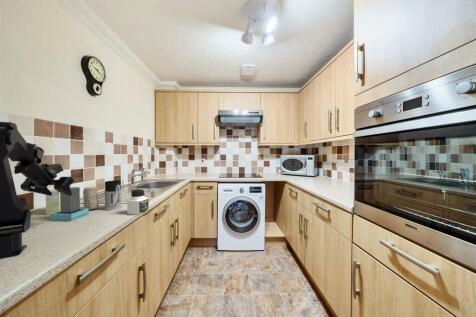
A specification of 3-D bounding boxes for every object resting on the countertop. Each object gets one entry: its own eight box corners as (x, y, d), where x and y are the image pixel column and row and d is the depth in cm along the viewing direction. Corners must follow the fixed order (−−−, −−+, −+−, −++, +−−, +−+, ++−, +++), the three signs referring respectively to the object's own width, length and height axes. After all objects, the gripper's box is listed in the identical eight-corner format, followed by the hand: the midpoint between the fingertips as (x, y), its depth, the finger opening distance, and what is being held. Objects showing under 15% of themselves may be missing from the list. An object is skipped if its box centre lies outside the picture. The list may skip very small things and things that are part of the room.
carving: (92, 207, 112) (91, 186, 112) (101, 208, 110) (101, 186, 110) (80, 210, 106) (79, 188, 106) (89, 211, 104) (89, 188, 104)
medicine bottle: (139, 215, 98) (139, 190, 98) (127, 214, 100) (126, 190, 100) (148, 211, 105) (148, 188, 105) (137, 210, 107) (136, 188, 107)
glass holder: (119, 205, 117) (118, 179, 117) (128, 209, 108) (128, 182, 107) (101, 208, 110) (101, 181, 110) (110, 213, 101) (109, 183, 101)
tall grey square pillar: (70, 217, 92) (70, 189, 91) (60, 217, 92) (60, 188, 92) (80, 214, 97) (79, 187, 96) (70, 213, 97) (69, 187, 97)
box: (57, 209, 108) (56, 187, 108) (70, 208, 110) (69, 187, 110) (45, 215, 98) (44, 191, 98) (59, 214, 100) (59, 190, 100)
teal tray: (71, 221, 89) (71, 214, 89) (50, 220, 90) (50, 214, 90) (88, 214, 99) (88, 208, 99) (69, 214, 99) (69, 208, 99)
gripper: (69, 157, 83) (91, 180, 95) (27, 157, 84) (53, 180, 95) (51, 178, 76) (77, 200, 87) (5, 178, 77) (36, 200, 88)
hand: (61, 194), depth 89 cm, fingers open, 9 cm apart
